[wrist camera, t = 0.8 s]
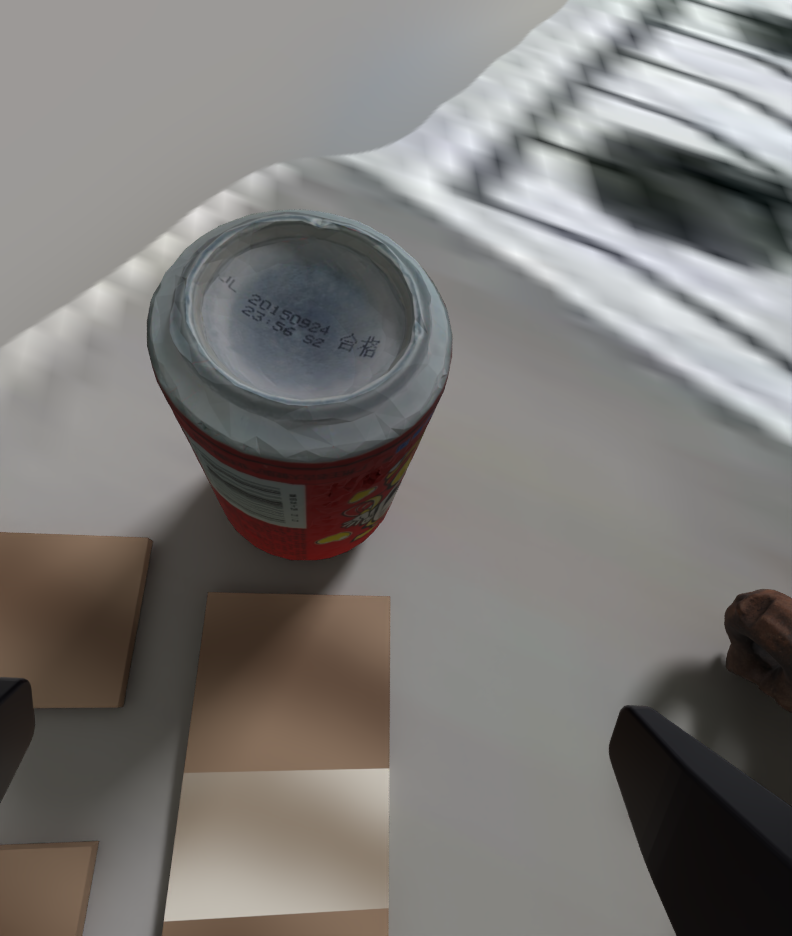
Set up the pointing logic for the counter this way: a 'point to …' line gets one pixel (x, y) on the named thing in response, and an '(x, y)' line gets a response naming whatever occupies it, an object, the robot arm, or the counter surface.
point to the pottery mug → (762, 642)
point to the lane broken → (64, 688)
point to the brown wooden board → (286, 771)
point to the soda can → (300, 372)
